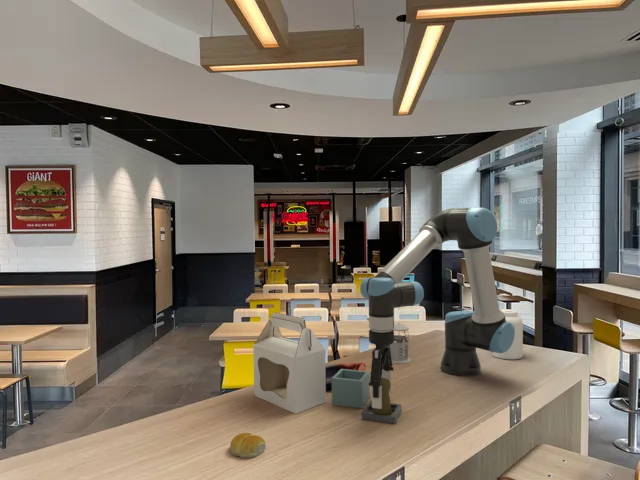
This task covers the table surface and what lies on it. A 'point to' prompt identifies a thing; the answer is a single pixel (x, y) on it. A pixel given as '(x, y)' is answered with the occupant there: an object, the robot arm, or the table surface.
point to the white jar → (517, 344)
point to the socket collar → (381, 417)
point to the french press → (400, 345)
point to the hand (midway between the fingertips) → (381, 399)
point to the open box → (350, 388)
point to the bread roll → (247, 445)
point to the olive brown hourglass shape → (384, 398)
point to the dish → (334, 368)
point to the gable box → (289, 365)
